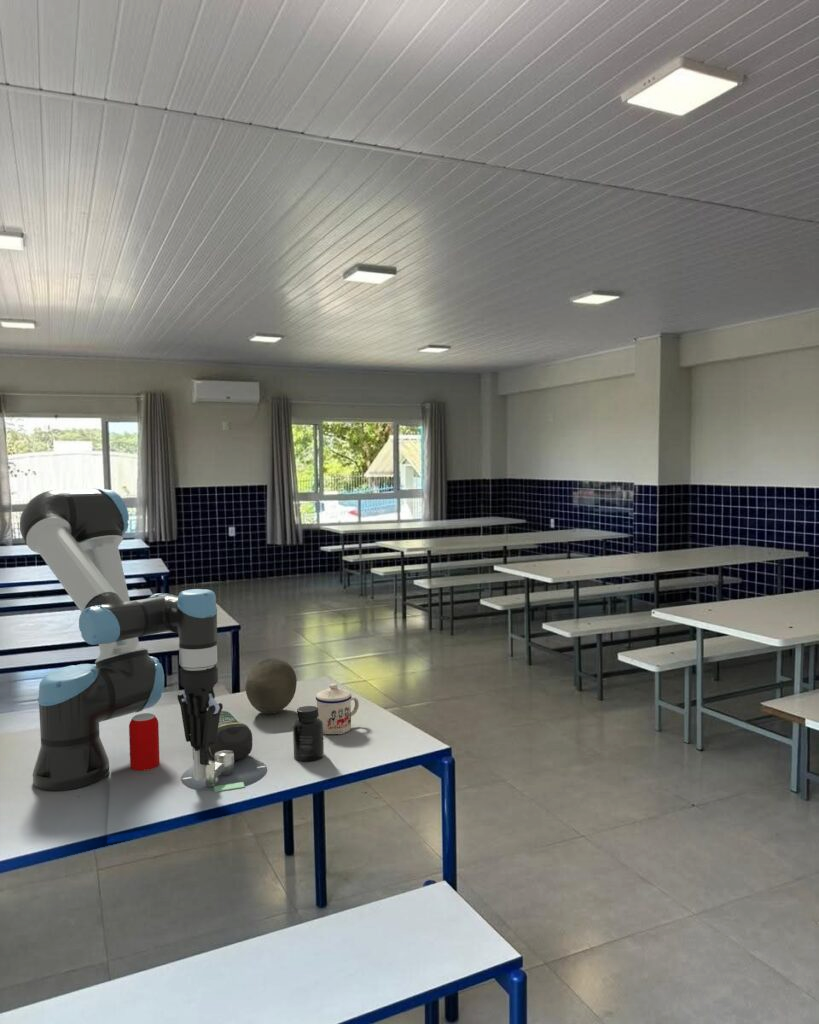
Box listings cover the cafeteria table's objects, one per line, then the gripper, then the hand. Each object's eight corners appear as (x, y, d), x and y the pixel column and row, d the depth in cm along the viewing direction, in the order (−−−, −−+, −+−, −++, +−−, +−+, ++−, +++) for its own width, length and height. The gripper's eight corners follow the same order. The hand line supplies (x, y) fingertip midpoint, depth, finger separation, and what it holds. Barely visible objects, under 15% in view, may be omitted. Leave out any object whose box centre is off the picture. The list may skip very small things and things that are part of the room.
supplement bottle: (330, 758, 169) (329, 707, 168) (310, 768, 163) (308, 715, 162) (307, 752, 173) (306, 702, 172) (287, 762, 167) (286, 710, 166)
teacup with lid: (328, 738, 182) (327, 692, 181) (309, 728, 189) (308, 683, 188) (368, 727, 189) (367, 682, 188) (348, 718, 196) (348, 675, 196)
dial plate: (184, 802, 147) (183, 796, 147) (178, 768, 164) (178, 763, 164) (274, 787, 154) (273, 781, 154) (260, 756, 170) (259, 751, 170)
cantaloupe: (236, 712, 202) (235, 658, 201) (283, 702, 211) (281, 650, 210) (259, 726, 191) (258, 669, 190) (307, 715, 199) (306, 660, 199)
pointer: (219, 767, 161) (219, 746, 161) (237, 768, 160) (236, 747, 160) (199, 787, 151) (198, 764, 151) (217, 788, 151) (217, 765, 150)
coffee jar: (231, 707, 182) (256, 724, 166) (232, 739, 182) (256, 759, 166) (192, 712, 177) (213, 730, 161) (192, 745, 177) (214, 767, 161)
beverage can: (125, 774, 161) (123, 720, 161) (139, 763, 167) (137, 711, 167) (151, 775, 160) (149, 721, 160) (164, 764, 167) (163, 712, 166)
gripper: (232, 667, 150) (235, 780, 151) (196, 656, 158) (199, 764, 159) (200, 675, 144) (203, 792, 145) (165, 663, 152) (168, 775, 154)
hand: (201, 777), depth 152 cm, fingers closed
